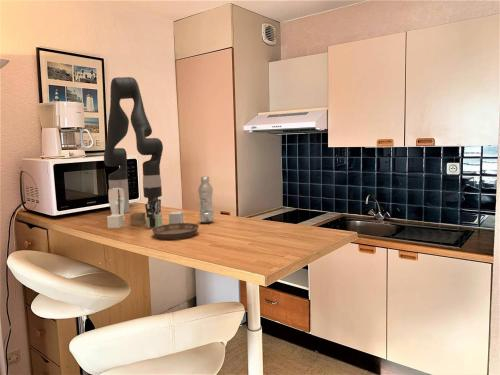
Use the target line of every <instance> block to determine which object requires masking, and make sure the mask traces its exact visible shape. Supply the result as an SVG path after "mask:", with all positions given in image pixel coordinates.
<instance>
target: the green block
mask: <svg viewBox="0 0 500 375" xmlns="http://www.w3.org/2000/svg"><path fill="white" fill-rule="evenodd" d="M162 218H163V215H162V213H160V214H155V227H150V222H149V218H148V217H147V215H146V228H147V229H149V228H152V229H154V228H156V227H159V226H162V225H163V219H162Z"/></svg>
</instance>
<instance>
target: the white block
mask: <svg viewBox="0 0 500 375" xmlns="http://www.w3.org/2000/svg"><path fill="white" fill-rule="evenodd" d="M106 218H107V219H106V220H107V229H120V228H122V227H124V226H125V223H124V222H125V221H124V218H125V217H124V218H123V214H117V215H112V214H110V215H108V216H106Z"/></svg>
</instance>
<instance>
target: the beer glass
mask: <svg viewBox="0 0 500 375" xmlns="http://www.w3.org/2000/svg"><path fill="white" fill-rule="evenodd" d="M107 193H108V203H109V208H110V212H112V213H111V215H117V214H123V218H124V222H125V221H126V218H125V213H124V201H125V198H124V190H123V188H111V189H109V188H108V192H107Z"/></svg>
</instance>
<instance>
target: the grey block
mask: <svg viewBox="0 0 500 375" xmlns="http://www.w3.org/2000/svg"><path fill="white" fill-rule="evenodd" d="M168 223H169V224H176V223H185V221H184V211H171V212H170V213H168Z"/></svg>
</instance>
